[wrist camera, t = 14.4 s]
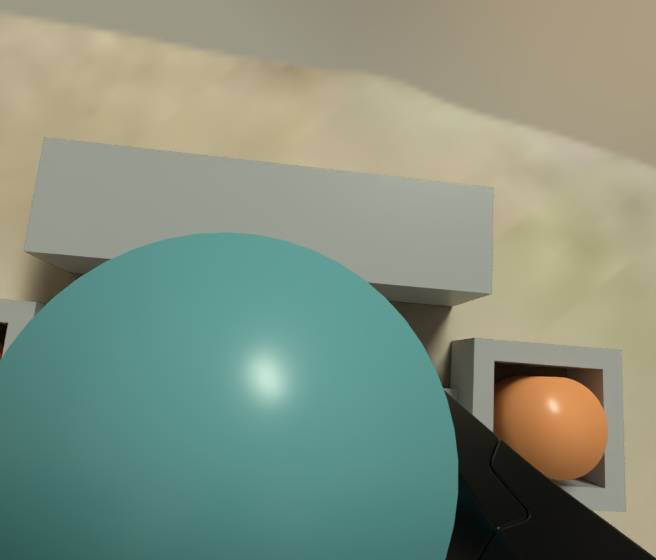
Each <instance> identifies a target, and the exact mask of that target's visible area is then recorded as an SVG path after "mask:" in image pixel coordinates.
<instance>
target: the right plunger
mask: <svg viewBox="0 0 656 560" xmlns="http://www.w3.org/2000/svg"><path fill="white" fill-rule="evenodd" d="M493 433H494V434H495V435H497V436H498V437H499V440H500V439H502V440H503V441H504V442H506V443H507V444H508V445H509V446H510V447H511V448H512V449H514V450H515V451H516V452H517V453H518V454H520V455H521V456H522V457H523V458H524V459H526V460H527V461H528V462H529V463H530V464H532V465H533V466H534V467H535V468H536V469H538V470H539V471H540V472H541V473H543V474H544V475H545V476H547V477H549V478H552V479H556V480H572V479H576V478H579V477H581V476H584V475H585V474H587V473H588V472H590V471H591V470H592V469H593V468H594V467H595V466H596V465H597V464H598V463H599V461H600V460H601V458H602V456H603V454H604V452H605V449H606V445H607V440H608V424H607V419H606V415H605V412H604V410H603V407H602V406H601V404H600V402H599V400H598V399H597V398H596V396H595V395H594V394H593V393H592V392H591V391H590V390H589V389H588V388H587V387H585V386H584V385H582V384H581V383H579V382H577V381H575V380H572V379H568V378H563V377H542V376H511V377H507V378H504V379H502V380H500V381H499V382H497V383H496V384H495V385H494V410H493ZM499 440H498V441H499Z"/></svg>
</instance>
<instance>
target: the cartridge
mask: <svg viewBox="0 0 656 560" xmlns="http://www.w3.org/2000/svg"><path fill="white" fill-rule="evenodd" d="M457 497H458V455H457V447H456V438H455V430H454V425H453V421H452V417H451V413H450V409H449V405H448V401H447V398H446V395H445V392H444V390H443V387H442V384H441V382H440V379H439V376H438V374H437V371H436V369H435V367H434V365H433V363H432V361H431V360H430V358H429V356H428V354H427V352H426V350H425V348H424V346H423V344H422V343H421V341H420V340H419V339H418V337H417V336H416V334H415V333H414V331H413V330H412V329H411V327H410V326H409V324H408V323H407V321H406V320H405V319H404V318H403V317H402V315H401V314H400V313H399V312H398V311H397V310H396V309H395V308H394V307H393V306H392V304H391V303H390V302H389V301H388V300H387V299H386V298H385V297H384V296H383V295H382V294H380V293H379V292H378V291H377V290H376V289H375V288H374V287H372V286H371V285H370V284H369V283H368V282H367V281H365V280H364V279H363V278H361V277H360V276H358V275H357V274H355V273H354V272H352V271H351V270H349V269H348V268H346V267H345V266H343V265H342V264H340V263H338V262H336V261H334V260H332V259H330V258H328V257H326V256H324V255H322V254H320V253H318V252H316V251H314V250H312V249H309V248H306V247H303V246H300V245H297V244H294V243H291V242H288V241H285V240H280V239H275V238H271V237H266V236H261V235H256V234H242V233H229V232H222V233H201V234H192V235H186V236H180V237H175V238H169V239H164V240H161V241H158V242H154V243H151V244H148V245H145V246H141V247H138V248H135V249H133V250H131V251H128V252H126V253H124V254H122V255H119V256H117V257H115V258H113V259H110V260H108V261H106V262H104V263H103V264H101V265H99V266H98V267H96V268H94V269H93V270H91V271H89V272H88V273H86V274H84V275H83V276H81V277H79V278H78V279H77V280H75V281H74V282H73V283H71V284H70V285H69V286H68V287H66V288H65V289H64V290H62V291H61V292H60V293H59V294H57V295H56V296H55V297H53V298H52V299H51V300H50V301H49V302H48V303H47V304H46V305H45V306H44V307H43V308H42V309H41V310H40V311H39V312H38V313H37V314H36V315H35V316H34V317H33V318H32V319H31V320H30V321H29V322H28V323H27V325H26V326H25V327H24V329H23V330H22V331H21V332H20V334H19V335H18V336H17V337H16V339H15V340H14V341H13V342H12V344H11V345H10V346H9V348H8V349H7V351H6V352H5V354H4V355H3V357H2V359H1V360H0V560H445V559H446V555H447V551H448V547H449V543H450V539H451V535H452V531H453V527H454V521H455V513H456V505H457Z"/></svg>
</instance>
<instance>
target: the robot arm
mask: <svg viewBox="0 0 656 560" xmlns="http://www.w3.org/2000/svg"><path fill="white" fill-rule="evenodd" d="M443 390H444V389H443ZM444 392H445V395H446V398H447V401H448V405H449V409H450V413H451V417H452V421H453V425H454V430H455V438H456V447H457V455H458V497H457V505H456V513H455V521H454V527H453V531H452V535H451V539H450V543H449V547H448V551H447V555H446V559H445V560H656V558H655V557H654V556H652V555H651V554H650V553H648V552H647V551H646V550H644V549H643V548H642V547H640V546H639V545H637V544H636V543H635V542H633V541H632V540H631V539H629V538H628V537H627V536H625V535H624V534H623V533H621V532H620V531H619V530H617V529H616V528H615V527H613V526H612V525H611V524H609V523H608V522H607V521H605V520H604V519H603V518H601V517H600V516H598V515H597V514H596V513H594V512H593V511H592V510H590V509H589V508H588V507H586V506H585V505H584V504H582V503H581V502H580V501H578V500H577V499H576V498H574V497H573V496H572V495H570V494H569V493H568V492H566V491H565V490H564V489H562V488H561V487H560V486H558V485H557V484H556V483H554V482H553V481H552V480H551V479H549V478H548V477H547V476H545V475H544V474H543V473H541V472H540V471H539V470H538V469H536V468H535V467H534V466H533V465H532V464H530V463H529V462H528V461H527V460H526V459H524V458H523V457H522V456H521V455H520V454H518V453H517V452H516V451H515V450H514V449H512V448H511V447H510V446H509V445H508V444H507V443H506V442H504V441H503V440H502V439H500V440H499V437H498V436H497V435H495V434H494V433H493V432H492V431H491V430H490V429H489V428H487V427H486V426H485V425H484V424H483V423H482V422H481V421H479V420H478V419H477V418H476V417H475V416H474V415H473V414H471V413H470V412H469V411H468V410H467V409H466V408H464V407H463V406H462V405H461V404H460V403H459V402H458V401H456V400H455V399H454V398H453V397H452V396H451V395H450V394H448V393H447V392H446V391H445V390H444ZM498 440H499V441H498Z"/></svg>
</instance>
